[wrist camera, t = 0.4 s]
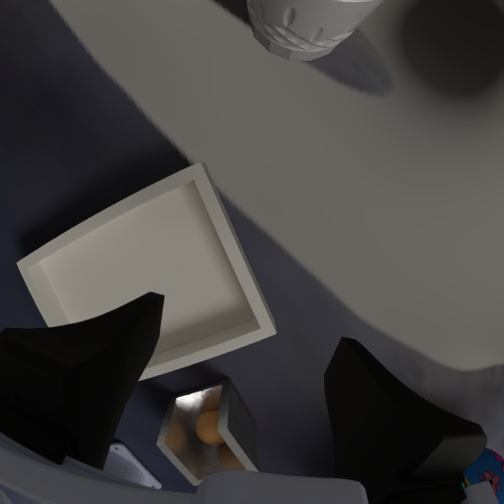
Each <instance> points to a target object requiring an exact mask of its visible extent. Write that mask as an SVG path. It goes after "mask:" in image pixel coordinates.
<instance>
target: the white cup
mask: <svg viewBox="0 0 504 504" xmlns="http://www.w3.org/2000/svg"><path fill="white" fill-rule="evenodd" d="M246 1H247V8H248V12H249V22H250V25H251V28H252V31H253V34H254V37H255V38H256V39H257V40H258V41H259V42H260V43H261V44H262V45H263V46H264V47H265V48H266V49H267V50H268V51H269V52H271V53H274V54H276V55H279V56H281V57H283V58H286V59H288V60H303V61H311V60H314V59H317V58H320V57H322V56H325V55H328V54H329V53H330V52H331V51H332V50H333V49H334V48H335V47H336V45H337V44H339V43H340V42H341V41H342V40H344V39H346V38H347V37H348V36H349V35H350V34H351V33H352V32H353V31H354V30H356V29H357V28H358V27H359V26H360V25H361V24H362V23H363V22H364V20H366V19H367V17H369V16H370V15H371V14H372V13H373V12H374V11H375V10H376V9H377V7H379V6H380V5H381V4H382V3H383V2H384V1H385V0H246Z"/></svg>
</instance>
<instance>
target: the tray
mask: <svg viewBox="0 0 504 504" xmlns="http://www.w3.org/2000/svg"><path fill="white" fill-rule="evenodd" d="M17 265H18V268H19V270H20V272H21V274H22V276H23V278H24V281H25V283H26V285H27V287H28V289H29V291H30V293H31V295H32V297H33V299H34V301H35V303H36V305H37V307H38V309H39V311H40V312H41V314H42V316H43V318H44V320H45V322H46V323H47V325H48V327H56V326H61V325H66V324H71V323H76V322H80V321H84V320H87V319H91V318H94V317H97V316H99V315H102V314H104V313H107V312H109V311H111V310H114V309H116V308H118V307H120V306H122V305H124V304H126V303H128V302H130V301H132V300H134V299H136V298H138V297H140V296H142V295H144V294H146V293H148V292H150V291H151V292H155V293H158V294H162V295H165V299H164V306H163V313H162V321H161V329H160V337H159V340H158V342H157V345H156V348H155V350H154V353H153V355H152V357H151V359H150V361H149V363H148V365H147V366H146V368H145V370H144V372H143V374H142V375H141V377H140V379H139V381H140V380H144V379H147V378H151V377H154V376H157V375H160V374H164V373H167V372H170V371H173V370H176V369H179V368H183V367H186V366H189V365H192V364H195V363H198V362H201V361H204V360H206V359H209V358H212V357H215V356H218V355H221V354H224V353H227V352H229V351H232V350H235V349H238V348H240V347H243V346H246V345H248V344H251V343H254V342H256V341H259V340H262V339H264V338H267V337H269V336H272V335H275V334H277V332H276V328H275V323H274V318H273V316H272V314H271V311H270V309H269V307H268V305H267V302H266V300H265V298H264V296H263V293H262V291H261V289H260V287H259V284H258V282H257V280H256V278H255V275H254V273H253V271H252V269H251V266H250V264H249V262H248V260H247V257H246V255H245V253H244V250H243V248H242V246H241V244H240V241H239V239H238V237H237V235H236V232H235V230H234V228H233V225H232V223H231V221H230V219H229V216H228V214H227V212H226V209H225V207H224V205H223V203H222V200H221V198H220V196H219V193H218V191H217V189H216V187H215V184H214V182H213V180H212V177H211V175H210V173H209V171H208V168H207V166H206V164H205V163H203V162H198V163H196V164H194V165H192V166H190V167H188V168H185V169H183V170H181V171H179V172H177V173H175V174H173V175H171V176H169V177H167V178H164V179H162V180H160V181H158V182H156V183H154V184H152V185H150V186H148V187H146V188H144V189H142V190H140V191H139V192H137V193H135V194H133V195H131V196H129V197H127V198H125V199H123V200H121V201H119V202H118V203H116V204H114V205H112V206H110V207H108V208H107V209H105V210H103V211H101V212H99V213H97V214H96V215H94V216H92V217H90V218H89V219H87V220H85V221H83V222H82V223H80V224H78V225H76V226H75V227H73V228H71V229H70V230H68V231H66V232H65V233H63V234H61V235H60V236H58V237H56V238H55V239H53V240H52V241H50V242H48V243H47V244H45V245H44V246H42V247H40V248H39V249H37V250H36V251H34V252H32V253H31V254H29V255H28V256H26V257H25V258H23V259H22V260H20V261H19V262H17Z"/></svg>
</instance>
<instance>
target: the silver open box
mask: <svg viewBox="0 0 504 504" xmlns="http://www.w3.org/2000/svg"><path fill="white" fill-rule="evenodd" d="M209 411H218V412H219V421H218V432H219V434H220V435H221V436H222V438H223V439H224V441H225V442H224V443H222V444H218V445H210V444H207V443H205V442H203V441H202V440H201V439H200V438H199V437H198V435H197V433H196V422H197V420H198V418H199V417H200V416H201V415H202V414H204V413H206V412H209ZM157 446H158V447H159V448H160V450H161V451H162V452H163V453H164V454H165V455H166V456H167V457H168V459H169V460H170V461H171V462H172V463H173V464H174V465H175V466H176V467H177V468H178V470H179V471H180V472H181V473H182V474H183V475H184V476H185V477H186V478H187V479H188V480H189V481H190V482H191V483H192V484H193V485H194V486H198V485H199V484H200V483H201V482H202V481H203V480H204V479H205V478H206V477H207V476H208V475H211V474H214V473H218V472H223V471H228V470H240V471H255V472H259V455H258V438H257V423H256V421H255V420H254V418H253V416H252V415H251V413H250V412H249V410H248V408H247V407H246V405H245V403H244V402H243V400H242V398H241V397H240V395H239V393H238V392H237V390H236V388H235V386H234V385H233V383H232V381H231V380H230V379H227V380H224V381H221V382H218V383H215V384H212V385H209V386H205V387H202V388H199V389H196V390H192V391H189V392H185V393H182V394H179V395H175V396H171V397H170V401H169V404H168V407H167V411H166V414H165V417H164V421H163V424H162V427H161V431H160V434H159V438H158V441H157Z"/></svg>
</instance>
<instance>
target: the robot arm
mask: <svg viewBox="0 0 504 504" xmlns="http://www.w3.org/2000/svg"><path fill="white" fill-rule="evenodd" d="M164 299H165V295H162V294H158V293H155V292H151V291H150V292H148V293H146V294H144V295H142V296H140V297H138V298H136V299H134V300H132V301H130V302H128V303H126V304H124V305H122V306H120V307H118V308H116V309H114V310H111V311H109V312H107V313H104V314H102V315H99V316H97V317H94V318H91V319H87V320H84V321H80V322H76V323H71V324H66V325H61V326H56V327H47V328H32V329H24V328H5V329H4V330H3V331H2V332H1V333H0V504H499V502H498V500H497V498H496V496H495V493H494V491H493V489H492V487H491V485H490V483H489V481H484V482H480V483H476V484H473V485H470V486H468V487H466V488H464V489H463V486H462V484H461V483H462V482H464V481H465V476H464V474H463V472H464V471H465V470H466V469H467V468H468V467H469V466H470V465H471V464H472V463H473V462H474V461H475V460H476V459H477V458H478V457H479V455H480V454H481V453H482V452H483V450H484V448H485V447H486V444H487V436H486V434H485V433H484V431H483V429H482V428H481V426H480V425H479V424H477V423H474V422H471V421H468V420H465V419H463V418H460V417H457V416H455V415H453V414H451V413H449V412H446V411H444V410H443V409H441V408H439V407H437V406H435V405H433V404H432V403H430V402H428V401H427V400H425V399H423V398H422V397H420V396H419V395H418V394H416V393H415V392H413V391H412V390H411V389H409V388H408V387H407V386H405V385H404V384H403V383H402V382H401V381H399V380H398V379H397V378H396V377H395V376H394V375H393V374H391V373H390V372H389V371H388V370H387V369H386V368H385V367H384V366H383V365H382V364H381V363H380V362H379V361H378V360H377V359H376V358H375V357H374V356H373V355H372V354H371V353H370V352H369V351H368V350H367V349H366V348H365V347H364V346H363V345H362V344H360V343H359V342H358V341H357V340H356V339H351V338H346V337H341V339H340V342H339V344H338V346H337V348H336V350H335V353H334V355H333V357H332V359H331V361H330V363H329V365H328V367H327V369H326V371H325V373H324V387H325V397H326V403H327V408H328V413H329V418H330V423H331V428H332V433H333V438H334V446H335V469H336V478H316V477H301V476H289V475H279V474H270V473H262V472H255V471H240V470H228V471H223V472H218V473H214V474H211V475H208V476H207V477H206V478H205V479H204V480H203V481H202V482H201V483H200V484H199V487H198V490H197V493H196V494H188V493H178V492H169V491H162V490H159V488H161V486H162V484H161V483H160V482H159V481H158V480H157V479H156V478H155V477H154V476H153V475H152V474H151V473H150V472H149V471H148V470H147V469H146V468H145V467H144V466H143V465H142V464H141V463H140V462H139V461H138V460H137V459H136V458H135V456H134V455H133V454H132V453H131V452H130V451H129V450H128V449H127V448H126V446H125V445H124V444H122V443H113V444H111V443H112V440H113V438H114V435H115V432H116V429H117V426H118V424H119V421H120V418H121V416H122V413H123V411H124V408H125V406H126V403H127V401H128V399H129V397H130V395H131V393H132V391H133V390H134V388H135V386H136V384H137V382H138V381H139V379H140V377H141V375H142V374H143V372H144V370H145V368H146V366H147V365H148V363H149V361H150V359H151V357H152V355H153V353H154V350H155V348H156V345H157V342H158V340H159V337H160V329H161V321H162V313H163V306H164Z"/></svg>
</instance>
